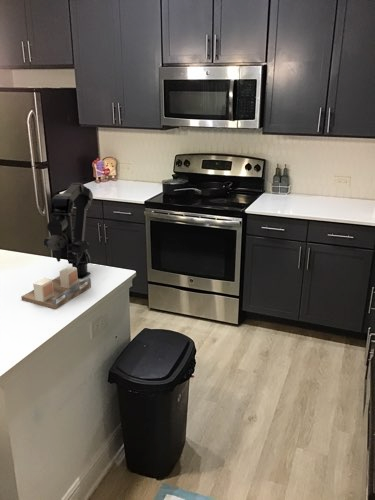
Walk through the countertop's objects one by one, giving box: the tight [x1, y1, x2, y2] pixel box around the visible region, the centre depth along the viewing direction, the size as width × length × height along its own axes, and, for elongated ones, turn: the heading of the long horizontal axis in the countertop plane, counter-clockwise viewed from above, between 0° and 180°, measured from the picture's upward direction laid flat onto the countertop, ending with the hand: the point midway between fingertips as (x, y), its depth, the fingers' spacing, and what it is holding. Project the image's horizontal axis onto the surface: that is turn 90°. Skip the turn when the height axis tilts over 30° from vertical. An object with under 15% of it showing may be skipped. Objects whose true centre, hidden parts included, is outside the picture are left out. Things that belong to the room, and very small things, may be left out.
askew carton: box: [59, 265, 79, 289], centre depth 180 cm, size 4×6×7 cm
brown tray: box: [21, 275, 92, 310], centre depth 176 cm, size 22×17×4 cm
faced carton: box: [32, 277, 54, 302], centre depth 168 cm, size 4×6×7 cm
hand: (67, 263), depth 177 cm, fingers open, 9 cm apart
